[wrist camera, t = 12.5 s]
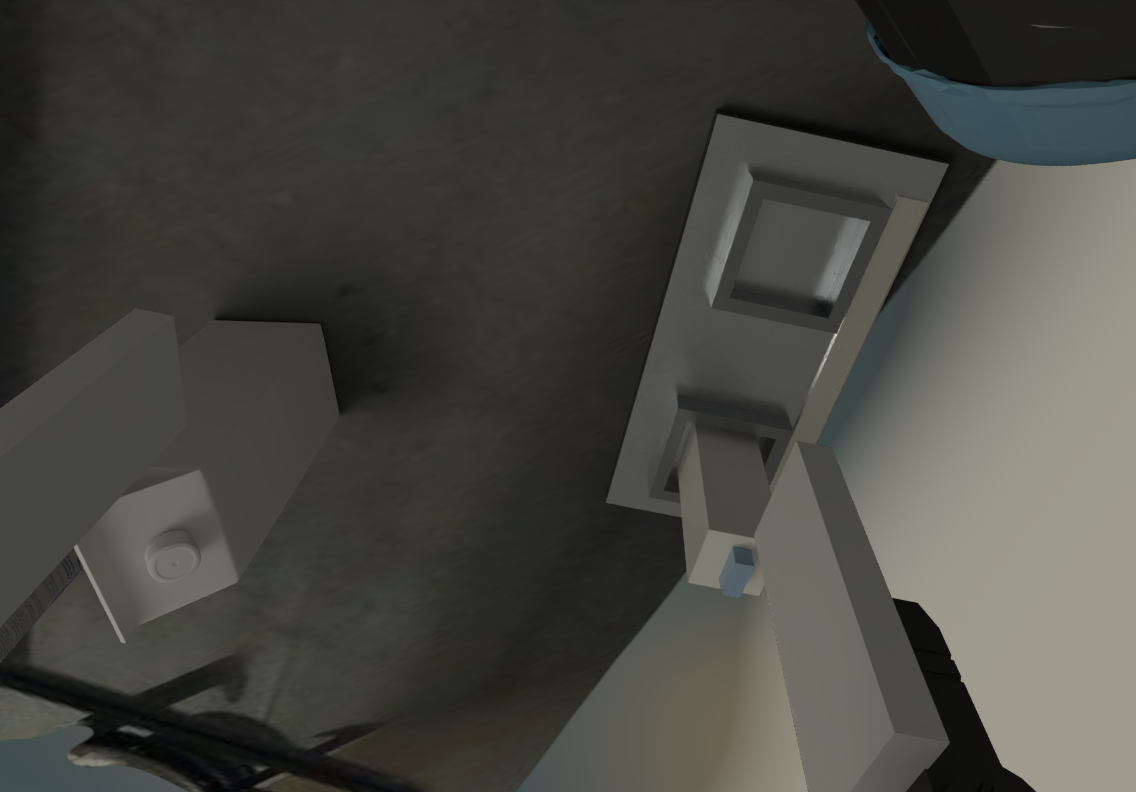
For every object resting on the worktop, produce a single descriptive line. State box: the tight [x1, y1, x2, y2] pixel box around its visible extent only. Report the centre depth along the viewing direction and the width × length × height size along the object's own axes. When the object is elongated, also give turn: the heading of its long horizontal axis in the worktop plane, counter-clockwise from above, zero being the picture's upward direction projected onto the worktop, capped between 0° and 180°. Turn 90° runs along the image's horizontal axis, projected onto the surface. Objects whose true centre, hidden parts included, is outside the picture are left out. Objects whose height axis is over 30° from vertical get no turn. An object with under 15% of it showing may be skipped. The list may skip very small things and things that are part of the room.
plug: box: [678, 423, 772, 598], centre depth 42 cm, size 4×4×11 cm
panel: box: [606, 110, 949, 517], centre depth 43 cm, size 26×12×2 cm, turn 169°
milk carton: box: [74, 320, 339, 643], centre depth 39 cm, size 7×7×19 cm
